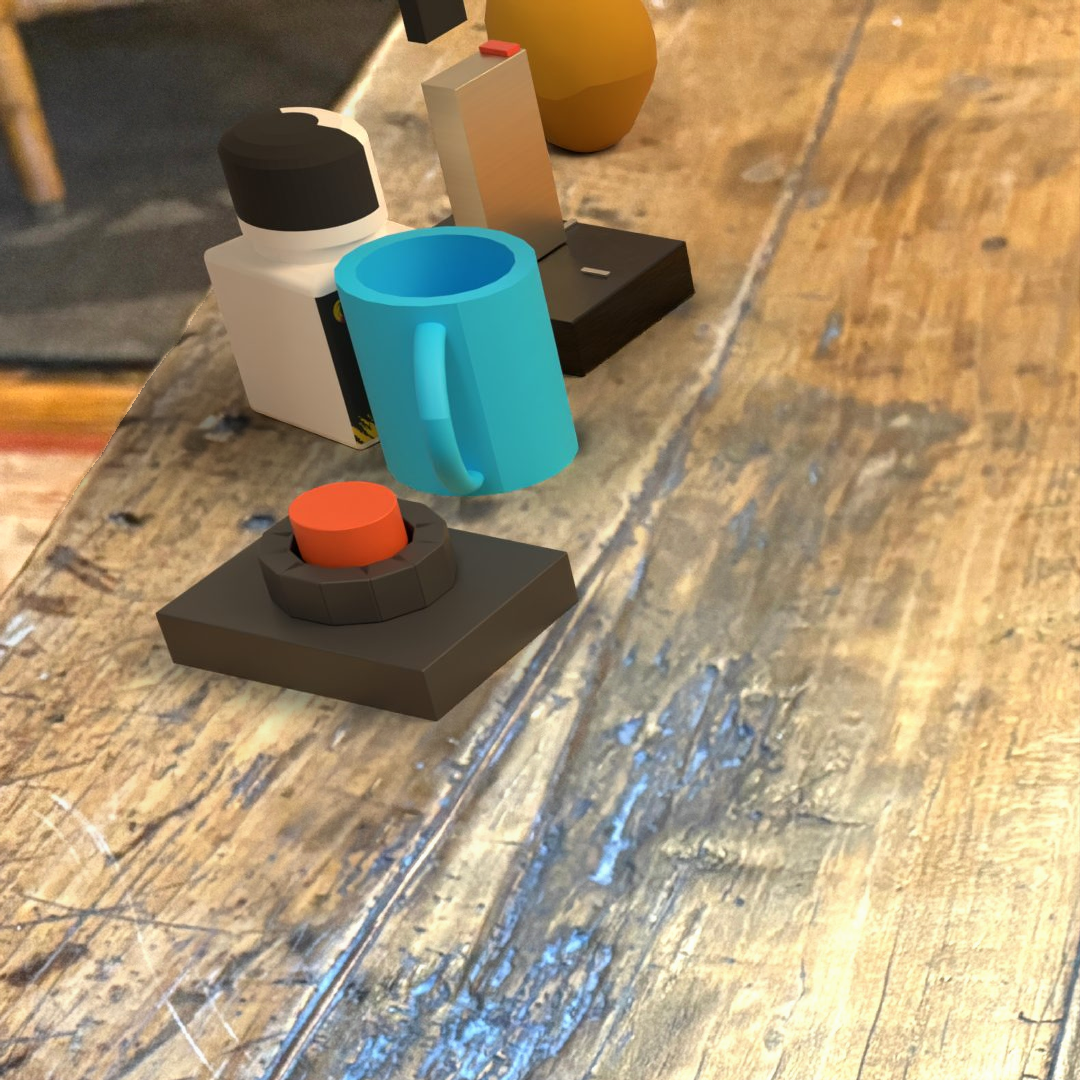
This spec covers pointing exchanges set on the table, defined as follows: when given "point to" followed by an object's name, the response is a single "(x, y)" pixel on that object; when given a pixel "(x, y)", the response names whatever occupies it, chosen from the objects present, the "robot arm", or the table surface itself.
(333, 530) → the button
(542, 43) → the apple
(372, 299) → the mug
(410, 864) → the table surface
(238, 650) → the button box
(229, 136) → the medicine bottle
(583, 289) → the dial panel
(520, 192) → the tilted slab handle
